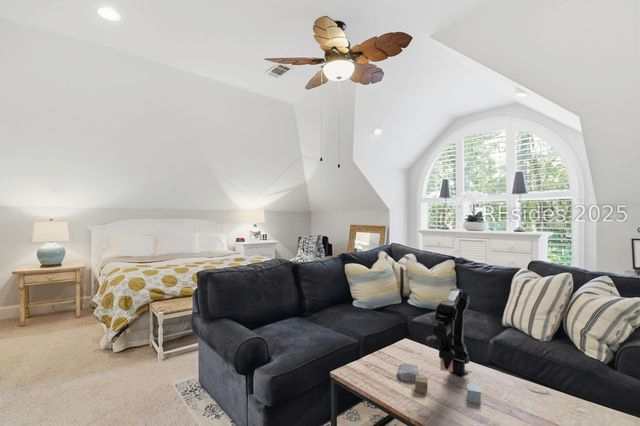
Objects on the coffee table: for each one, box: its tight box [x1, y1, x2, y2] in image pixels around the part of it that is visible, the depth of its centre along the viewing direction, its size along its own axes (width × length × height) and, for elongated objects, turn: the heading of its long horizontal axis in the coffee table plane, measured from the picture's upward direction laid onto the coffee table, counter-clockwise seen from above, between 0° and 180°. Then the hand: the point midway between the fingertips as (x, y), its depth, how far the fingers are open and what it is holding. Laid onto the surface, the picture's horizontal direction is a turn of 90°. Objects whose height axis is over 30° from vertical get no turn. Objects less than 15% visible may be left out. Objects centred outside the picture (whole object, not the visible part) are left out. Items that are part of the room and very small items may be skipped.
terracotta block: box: [439, 357, 453, 373], centre depth 147 cm, size 5×5×5 cm
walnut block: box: [414, 375, 429, 394], centre depth 150 cm, size 5×5×5 cm
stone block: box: [397, 363, 420, 382], centre depth 163 cm, size 12×5×10 cm
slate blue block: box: [466, 383, 482, 405], centre depth 142 cm, size 5×5×5 cm
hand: (446, 366), depth 147 cm, fingers closed on terracotta block, 5 cm apart
